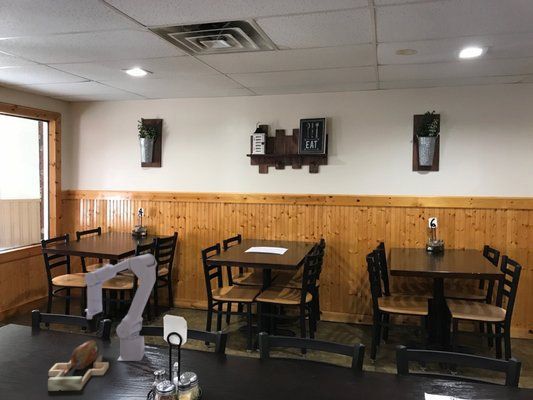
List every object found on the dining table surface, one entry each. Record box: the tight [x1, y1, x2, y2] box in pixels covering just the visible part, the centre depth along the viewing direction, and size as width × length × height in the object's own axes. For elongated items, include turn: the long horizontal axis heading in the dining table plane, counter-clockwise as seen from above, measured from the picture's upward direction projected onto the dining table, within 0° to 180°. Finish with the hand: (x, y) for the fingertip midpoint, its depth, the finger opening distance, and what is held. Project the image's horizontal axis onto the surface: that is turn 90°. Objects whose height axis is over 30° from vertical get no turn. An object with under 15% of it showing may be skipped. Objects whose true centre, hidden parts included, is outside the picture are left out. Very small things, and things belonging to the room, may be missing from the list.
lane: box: [47, 354, 103, 392], centre depth 164 cm, size 11×26×4 cm, turn 4°
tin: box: [70, 340, 100, 370], centre depth 173 cm, size 15×3×8 cm, turn 168°
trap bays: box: [48, 361, 110, 377], centre depth 166 cm, size 20×7×2 cm, turn 94°
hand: (94, 330), depth 185 cm, fingers open, 4 cm apart
